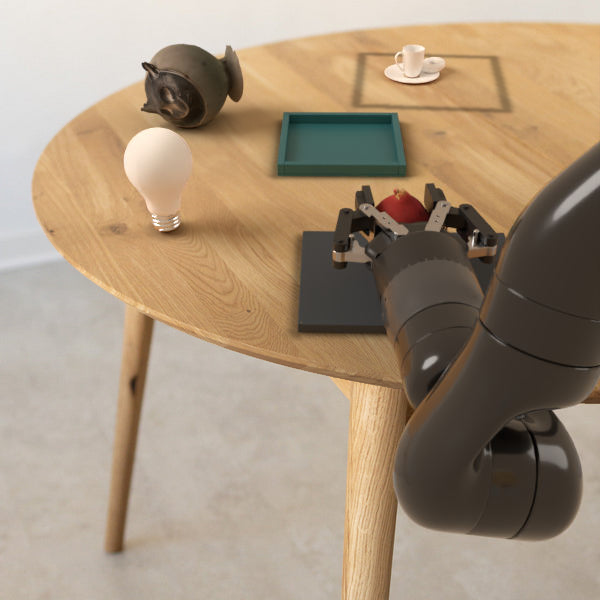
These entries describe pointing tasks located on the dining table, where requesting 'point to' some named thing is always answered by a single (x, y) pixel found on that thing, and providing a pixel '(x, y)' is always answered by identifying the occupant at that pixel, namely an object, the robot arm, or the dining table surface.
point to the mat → (349, 288)
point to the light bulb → (159, 173)
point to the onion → (403, 207)
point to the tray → (341, 145)
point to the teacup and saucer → (415, 66)
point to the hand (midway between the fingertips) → (396, 193)
